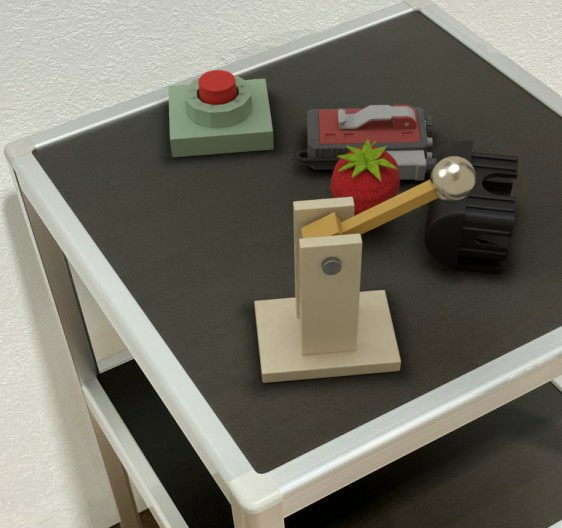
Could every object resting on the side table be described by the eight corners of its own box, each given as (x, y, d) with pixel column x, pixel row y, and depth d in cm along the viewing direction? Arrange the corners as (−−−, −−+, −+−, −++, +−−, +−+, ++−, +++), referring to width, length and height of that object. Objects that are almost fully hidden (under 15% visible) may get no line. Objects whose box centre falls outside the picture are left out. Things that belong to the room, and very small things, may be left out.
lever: (477, 170, 69) (461, 139, 67) (487, 199, 67) (471, 168, 65) (317, 246, 73) (297, 219, 71) (322, 276, 71) (302, 249, 69)
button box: (266, 96, 101) (264, 62, 98) (273, 149, 95) (272, 115, 92) (170, 103, 101) (166, 70, 98) (172, 157, 95) (167, 123, 92)
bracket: (384, 299, 82) (393, 179, 72) (400, 371, 77) (412, 253, 67) (254, 310, 82) (246, 191, 72) (262, 383, 76) (254, 266, 67)
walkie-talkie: (296, 187, 92) (508, 182, 91) (295, 148, 88) (515, 144, 88) (295, 130, 97) (495, 126, 97) (294, 92, 94) (501, 88, 93)
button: (235, 83, 96) (234, 68, 95) (237, 104, 94) (236, 89, 93) (199, 86, 96) (197, 71, 95) (200, 107, 94) (198, 92, 93)
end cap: (431, 195, 90) (438, 135, 85) (508, 203, 89) (520, 143, 84) (420, 269, 84) (427, 209, 79) (502, 278, 83) (515, 219, 78)
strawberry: (403, 207, 89) (411, 116, 82) (385, 262, 85) (393, 171, 77) (341, 197, 91) (343, 106, 83) (320, 250, 86) (321, 159, 78)
